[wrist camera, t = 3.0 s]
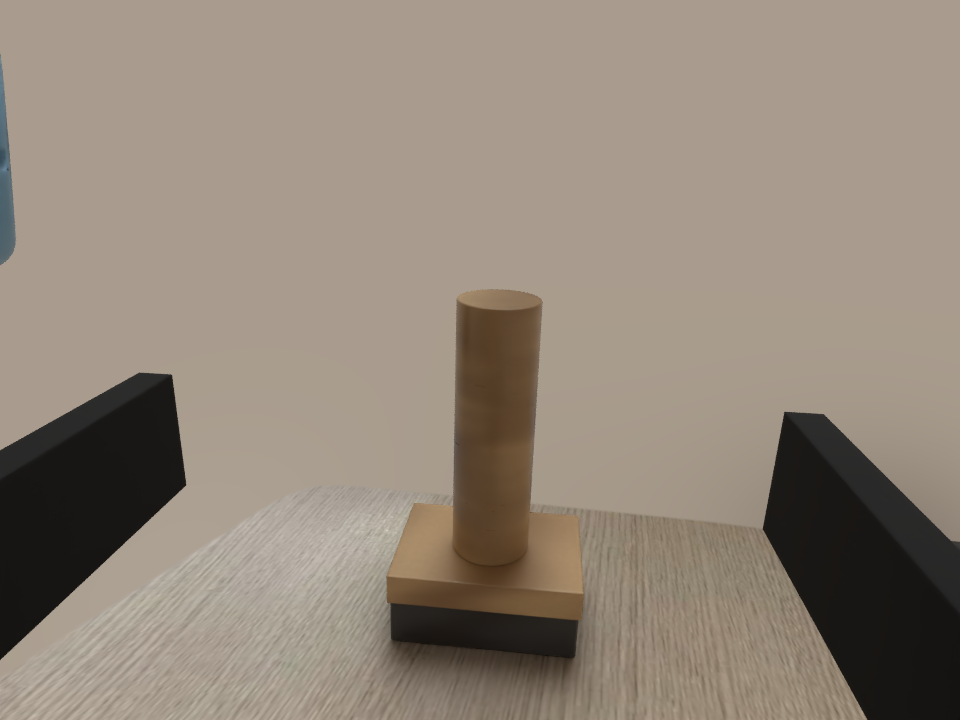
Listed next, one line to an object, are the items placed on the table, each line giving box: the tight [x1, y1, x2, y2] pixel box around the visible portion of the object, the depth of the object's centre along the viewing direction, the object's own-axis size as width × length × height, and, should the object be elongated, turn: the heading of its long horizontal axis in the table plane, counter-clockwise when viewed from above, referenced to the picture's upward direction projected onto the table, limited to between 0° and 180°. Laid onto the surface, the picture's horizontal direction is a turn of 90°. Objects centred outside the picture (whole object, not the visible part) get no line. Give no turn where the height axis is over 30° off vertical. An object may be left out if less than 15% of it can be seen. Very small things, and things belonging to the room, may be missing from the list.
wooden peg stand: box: [387, 289, 584, 658], centre depth 25 cm, size 7×5×13 cm
